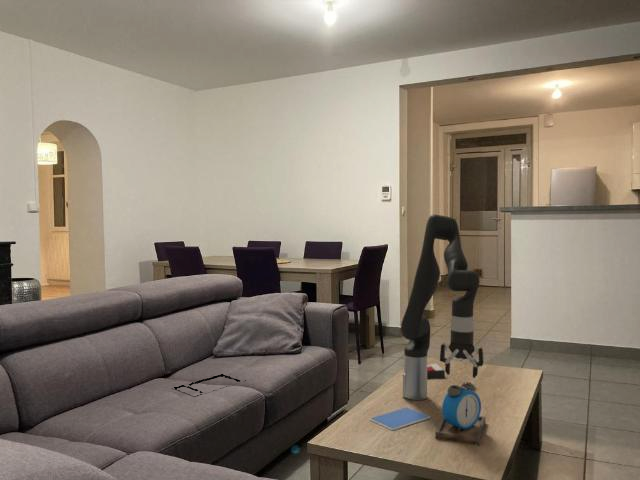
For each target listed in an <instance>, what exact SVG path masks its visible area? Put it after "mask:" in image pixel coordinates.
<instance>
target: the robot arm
mask: <svg viewBox="0 0 640 480" xmlns="http://www.w3.org/2000/svg"><path fill="white" fill-rule="evenodd" d="M458 226H459V225H458V221H457V220H456V218H454V217H451V216H446V215H441V214H435V213H433V214H431V215H430V216H429V217H428V219H427V222H426V224H425V230H424V237H423V242H422V247H421V248H422V249H421V253H420V258H419V261H418V264H417V267H416V268H417V269H416V272H415V276H414V280H413V284H412V289H411V293H410V296H409V300H408V304H407V306H406V310H405V312H404V315H403V317H402V320H401V325H400V331H401V334H402V336H403V337H404V339H406V340H409V341H408V343H407V345H405V347H404V350H403V351H404V357H403V358H404V359H403V360H404V361H403V362H404V363H403V366H404V367H403V368H404V370H403V373H402V398H406V399H408V400H413V401H422V400H426V399H427V398H428V378H427V364H428V353H429V352H428V351H429V348H430V344H431V343H430V342H431V324H430V321H429V319H428V318H427V316H425V315H424V311H425V309H426V307H427V306H428V304H429V302H430V301H431V299H432V297H433V296H434V294H435V292H436V290H437V288H438V284H439V280H440V276H441V269H440V266H439V263H438V260H437V258H436V255H435V254H436V253H435V250H434V248H435V247H434V246H435V240H436V239H437V240H442V241H448V245H447V246H446V247H445V249H444V252H443V258H444V263H445V265H446V268H447V279H446V283H447V286H448V289H450V290H451V291H453V292H465V294H464V295H462V296H459V297H456V298H453V299H452V301H451V319H450V342H449V344H446V343H445V342H443V343H441V345H440V353H439V361H440V362H442V363H444V365H445V369H444V371H445V373H446V375H447V376H450V374H451V361H452V360H453V359H454V357H455V358H456V359H462V360H467V359H468V361H469V362H470V363H471V364H472V378H473V379H475V378H476V377H477V376H478V375H479V373H478V372H479V371H478V369H479V368H478V367H482V366H483V365H484V347H482V346H479V347H475V346H474V330H475V329H474V328H475V327H474V326H475V323H474V322H475V321H474V304H475V300H476V295H477V294H478V289H479V287H480V281H481V279H480V276H479V273H477V272H476V270H472V269H471V270H470V269H469V270H468V266H469V265H468V262H467V261H468V260H467V259H466V257H465V254H464V251H463V249H462V244H461V243H462V242H461V236H460V230H459V227H458ZM448 349H449V351H450V352H451V353H450V355H448V357H447V358H446V357H445V356H446V352H447V350H448ZM474 352H475V353H476V354H477V355H478V361H477V360H476V358H475V356H474V355H473V353H474Z"/></svg>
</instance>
